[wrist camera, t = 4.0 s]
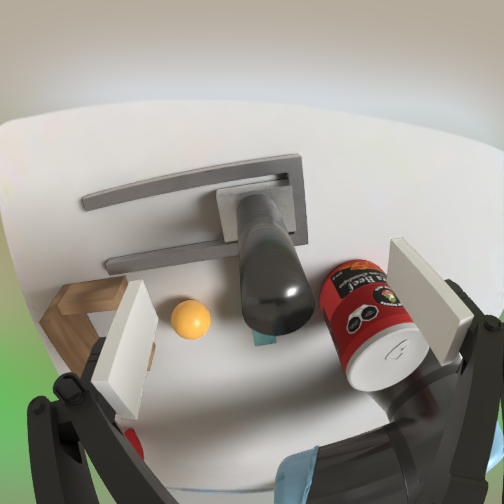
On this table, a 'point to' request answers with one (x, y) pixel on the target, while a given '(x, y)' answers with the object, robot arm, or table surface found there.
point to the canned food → (370, 327)
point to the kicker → (266, 257)
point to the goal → (81, 318)
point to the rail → (196, 179)
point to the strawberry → (134, 441)
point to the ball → (190, 319)
